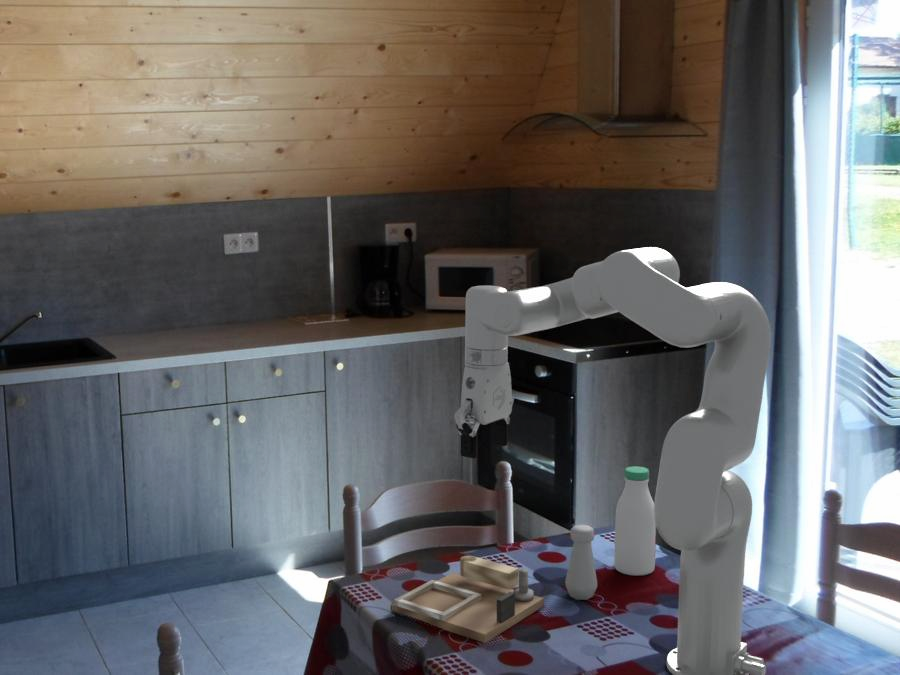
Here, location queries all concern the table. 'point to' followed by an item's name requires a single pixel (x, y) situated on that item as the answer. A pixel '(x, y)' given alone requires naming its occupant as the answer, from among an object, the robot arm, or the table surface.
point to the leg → (489, 572)
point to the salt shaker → (581, 564)
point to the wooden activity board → (469, 605)
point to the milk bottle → (635, 525)
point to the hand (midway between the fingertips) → (484, 450)
